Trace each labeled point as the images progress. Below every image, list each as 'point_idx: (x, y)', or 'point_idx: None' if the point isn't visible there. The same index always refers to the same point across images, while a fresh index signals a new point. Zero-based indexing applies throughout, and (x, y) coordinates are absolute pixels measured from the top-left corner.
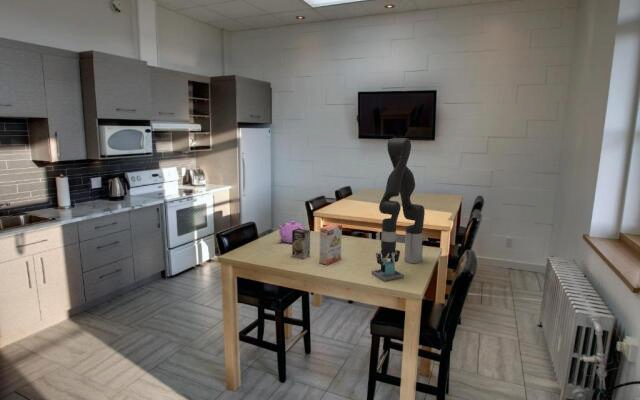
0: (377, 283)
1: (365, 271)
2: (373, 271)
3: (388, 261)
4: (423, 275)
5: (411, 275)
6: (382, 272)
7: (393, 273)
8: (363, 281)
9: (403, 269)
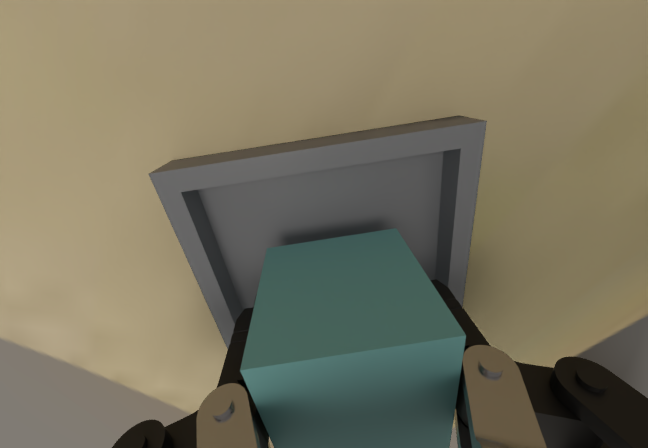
0: (177, 365)
1: (87, 21)
2: (170, 204)
3: (415, 373)
4: (627, 311)
5: (547, 292)
6: (318, 181)
7: (421, 242)
8: (44, 315)
9: (637, 128)
